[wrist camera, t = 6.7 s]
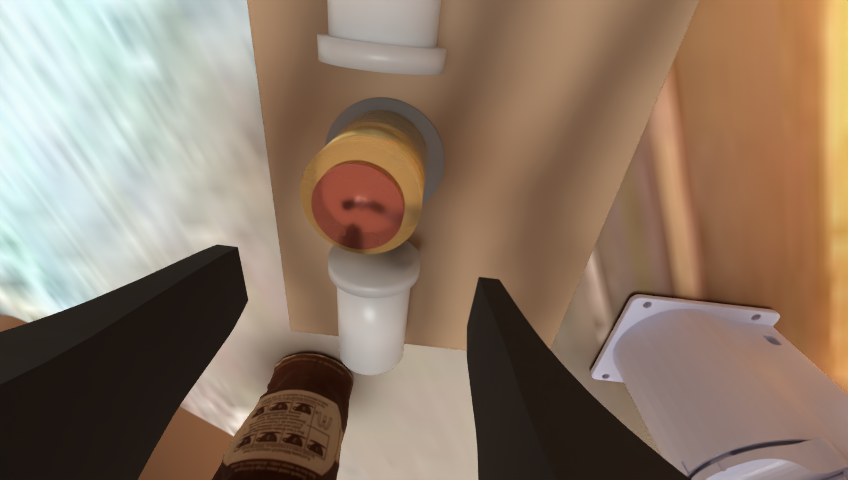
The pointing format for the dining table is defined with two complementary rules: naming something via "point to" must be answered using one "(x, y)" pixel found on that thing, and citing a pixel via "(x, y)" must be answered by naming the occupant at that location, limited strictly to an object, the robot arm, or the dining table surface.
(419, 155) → the tan red-topped cylinder
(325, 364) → the coffee cup
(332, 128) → the flange seat
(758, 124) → the dining table surface
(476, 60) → the board
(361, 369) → the pipe stubs
